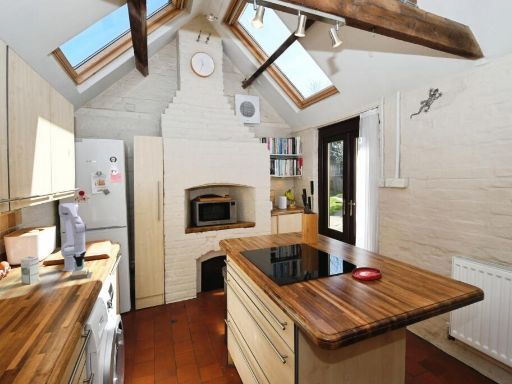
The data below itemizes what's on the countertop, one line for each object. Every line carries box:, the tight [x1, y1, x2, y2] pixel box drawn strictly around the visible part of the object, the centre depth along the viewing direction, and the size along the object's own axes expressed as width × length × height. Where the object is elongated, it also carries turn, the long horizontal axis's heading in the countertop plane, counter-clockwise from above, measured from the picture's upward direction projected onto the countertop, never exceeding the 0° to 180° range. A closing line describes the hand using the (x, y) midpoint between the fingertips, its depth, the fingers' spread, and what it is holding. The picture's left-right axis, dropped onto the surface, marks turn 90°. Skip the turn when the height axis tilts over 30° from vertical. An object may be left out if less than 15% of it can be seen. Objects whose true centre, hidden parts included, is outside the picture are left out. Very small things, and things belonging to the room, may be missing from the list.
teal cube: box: [74, 258, 85, 269], centre depth 158 cm, size 4×4×4 cm
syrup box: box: [20, 256, 40, 285], centre depth 149 cm, size 6×6×14 cm
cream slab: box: [71, 266, 89, 276], centre depth 158 cm, size 7×7×2 cm
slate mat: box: [66, 271, 94, 283], centre depth 159 cm, size 12×12×1 cm
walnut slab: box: [70, 269, 90, 280], centre depth 158 cm, size 8×8×2 cm
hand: (80, 265), depth 158 cm, fingers closed on teal cube, 4 cm apart
